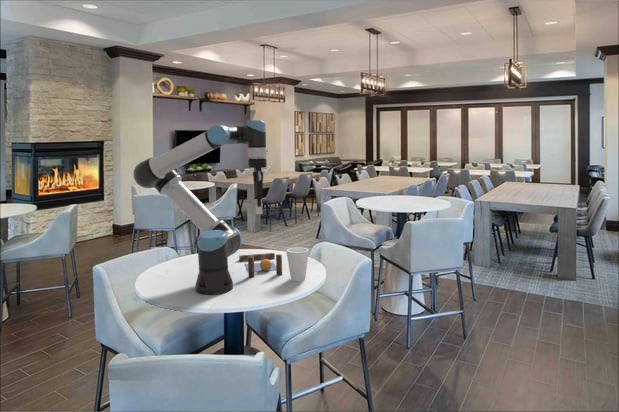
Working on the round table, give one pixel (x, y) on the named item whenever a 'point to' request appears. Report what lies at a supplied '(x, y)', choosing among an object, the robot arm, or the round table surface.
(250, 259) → the post left
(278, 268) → the post right
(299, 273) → the foam cup
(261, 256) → the bar
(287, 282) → the round table surface
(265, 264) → the ball
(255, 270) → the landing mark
